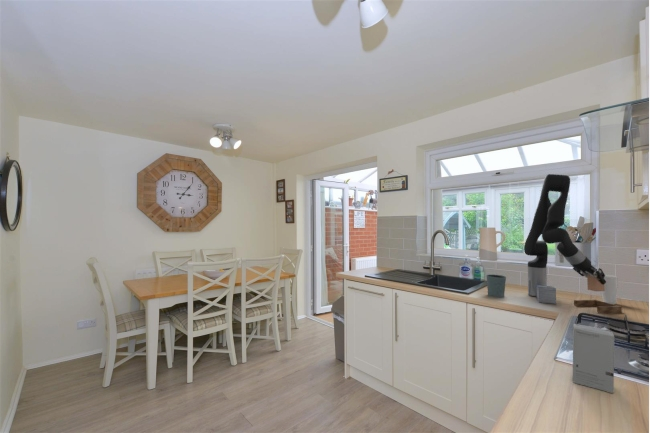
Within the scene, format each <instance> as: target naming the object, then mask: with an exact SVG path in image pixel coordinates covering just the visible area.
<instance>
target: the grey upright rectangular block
mask: <svg viewBox="0 0 650 433" xmlns="http://www.w3.org/2000/svg"><path fill="white" fill-rule="evenodd" d="M572 326H573V329H572V382H573V383H574V384H577V385H582V386H584V387H589V388H592V389H595V390H600V391H603V392H607V393H611V394H614V392H615V391H614V386H615V385H614V384H615V379H614V378H615V374H614V373H615V365H614V364H615V334H614V333H613V331H612V330H608V329H606V328H605V329H604V328H599V327H594V326H589V325H584V324H578V323H573V325H572Z"/></svg>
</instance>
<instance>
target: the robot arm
mask: <svg viewBox="0 0 650 433" xmlns="http://www.w3.org/2000/svg"><path fill="white" fill-rule="evenodd" d="M570 186H571V178H570V176H569V175H565V174H557V173H555V174H554V173H553V174H552V173H547V174H546V175H545V177H544V179H543V183H542V187H541V190H540V191H541V193H540V196H539V200H538V204H537V207H536V210H535V213H534V216H533V220H532V224H531V227H530V230H529V233H528V235H527V238H526V239H525V242H524V246H523V251H524V254H525V255H527V256H529V257H531V256H534V257H535V258H534V259H532V260H529V261H527V295H528V296H531V297H535V298H537V285H538V286H548V281H547V278H548V277H547V265H548V255H549V254H548V253H549V247H548V245H549V244H557V243H558V244H557V246H556V249H557V251H558V252H559V253H560V254H561V255H562V256H563V258H565V260H566V261H567V262H568V263H569V264H570V265H571V266H572V270H573V271H575V272H576V273H577V274H579V275H580V276H581V277H585V278H586V279H587V274H590V275H591V276H592V277H595V278H596V279H598V281H599V282H600V283H601V284H603V285H604V284H605V283H606V281H605V280H604V277H605V275H606V274H605V273H604V271H603V269H602V268H600V267H599V268H596V267H594V266H593V265H592V261H591V260H590V259H589V258H588V257H587V255H586V254H584V252H583V251H582V250H580V249H579V247H577V246H576V245H575V244H574V242H573V240H572V239H571V237H570V235H569V231H567V230H566V229H565V228H562V227H563V225H564V224H565V218H566V217H565V215H566V214H565V212H566V204H567V202H568V201H567V200H568V197H569V192H570ZM550 192H555V193H556V192H557V193H559V196H558V198H557V199H556V200H555V201H554V202H553V203H552V202H551V200H550V197H549V196H550V195H549V194H550ZM540 237H541V238H542V240H538V239H540ZM594 272H595V273H594ZM593 273H594V274H593ZM596 275H598V277H597V276H596Z"/></svg>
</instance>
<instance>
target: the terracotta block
mask: <svg viewBox="0 0 650 433" xmlns="http://www.w3.org/2000/svg"><path fill="white" fill-rule="evenodd" d="M594 273H595V272H594ZM594 273H593V274H594ZM596 276H597V277H598V275H596ZM586 280H587V290H588V291H593V292H602V291H605V285H603V284H601V283H600V282H599V281H598V279H596V278H595V277H592V276H591V275H590V274H587V278H586Z"/></svg>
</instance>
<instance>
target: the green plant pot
mask: <svg viewBox="0 0 650 433" xmlns="http://www.w3.org/2000/svg"><path fill="white" fill-rule="evenodd" d="M506 280H507V276H504V275H501V274H486V284H487V286H486V288H487V295H488V296H489V297H492V298H504V297H505V291H506Z"/></svg>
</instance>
